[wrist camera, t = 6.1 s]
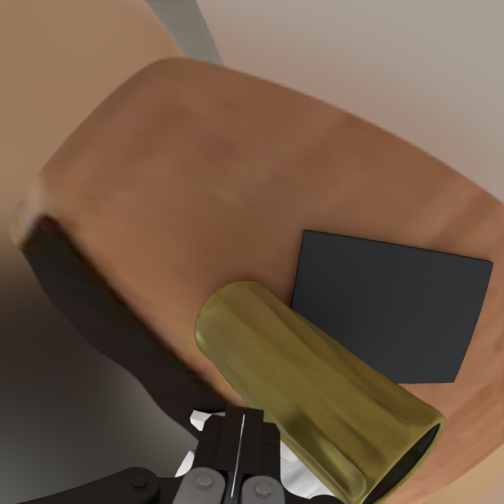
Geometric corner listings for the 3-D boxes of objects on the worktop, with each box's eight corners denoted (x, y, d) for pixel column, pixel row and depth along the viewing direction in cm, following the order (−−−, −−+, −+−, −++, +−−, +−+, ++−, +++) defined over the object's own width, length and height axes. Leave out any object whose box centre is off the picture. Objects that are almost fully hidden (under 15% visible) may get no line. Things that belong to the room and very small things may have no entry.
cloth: (412, 465, 25) (418, 480, 23) (245, 527, 29) (244, 541, 27) (330, 338, 23) (336, 354, 20) (127, 435, 26) (119, 451, 24)
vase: (280, 339, 23) (433, 456, 12) (206, 374, 21) (340, 536, 9) (269, 266, 21) (469, 377, 9) (181, 300, 19) (353, 490, 7)
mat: (303, 229, 21) (304, 230, 21) (489, 261, 21) (493, 262, 20) (277, 372, 23) (277, 376, 23) (451, 379, 23) (453, 382, 22)
